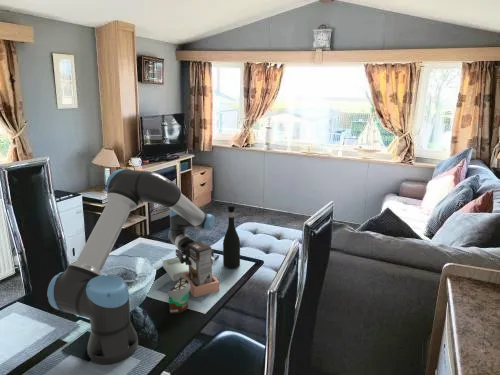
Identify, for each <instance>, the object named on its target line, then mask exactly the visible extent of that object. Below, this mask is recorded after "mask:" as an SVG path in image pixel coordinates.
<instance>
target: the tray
mask: <svg viewBox="0 0 500 375" xmlns="http://www.w3.org/2000/svg"><path fill="white" fill-rule="evenodd" d="M185 256H186V255H183V257H184V258H185ZM162 268H163V269H164V270H165V271H166V273H167V275H168V276H169V277H170V279H171V280H172V282H177V281H178V280H179V279H180V276H182V277H183V273H187V272H189V265H186V262H184V263H183V264H181V262H180V260H179V258H178V256H176V257H173V258H169V259H164V260H162ZM176 280H177V281H176Z"/></svg>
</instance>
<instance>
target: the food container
mask: <svg viewBox="0 0 500 375" xmlns="http://www.w3.org/2000/svg"><path fill="white" fill-rule="evenodd" d="M190 288H191V286H190V282H189V280H188V279H187V278H185V277H182V276H180V279H179V280H177V281H176V282H175V283H174V284H173V286H172V287H171V289H170V290H167V298H168V305H169V313H170V314H173V315H174V314H176V315H177V314H180V313H183V312H184V311H186V310H187V309H188V308H189V296H190V294H189V293H190V291H189V290H190Z"/></svg>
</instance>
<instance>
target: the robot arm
mask: <svg viewBox="0 0 500 375" xmlns="http://www.w3.org/2000/svg"><path fill="white" fill-rule="evenodd" d="M105 192H106V199H107V203H106V205H105V206H104V208H103V211H102V213H101V214H100V216H99V218H98V220H97V221H96V224H95V226H94V227H93V229H92V231H91V233H90V235H89V237H88V239H87V240H86V241H85V242H86V243H85V244H84V246H83V248H82V250H81V252H80V253H79V255H78V257H77V259H76V261H74V262H73V263H69V264H68V266H67V268H66V269H65V271H62V272H59V273H58V274H55V276H53V277H52V278H51V280H50V282H49V283H48V287H47V292H46V293H47V295H46V296H47V298H48V300H47V301H48V303H49V304H50V306H51V307H52V308H54V310H58V311H60V312H62V313H69V314H71V315H75V316H79V317H83V318H85V319H86V318H87V319H89V323H90V329H91V330H90V334H89V338H88V342H87V346H86V347H87V349H86V350H87V356H88V355H89V357H90V358H91V360H92V361H91V360H90V361H91V362H93V361H94V362H93V363H95V362H96V363H95V364H98V363H99V365H110V364H109V363H112V364H115V363H114V362H116V363H119V362H121V361H124V360H126V359H127V358H129V357H131V356H132V355H133V354H134V353H135V351H137V348H138V345H139V339H138V338H139V337H138V334H137V331H136V330H135V328H134V326H133V324H132V322H131V312H130V292H129V289H128V285H127V282H126V281H125V280H124V278H122V277H121V276H119V275H116V274H115V275H114V274H107V275H106V274H105V275H104V274H102V273H103V272H102V270H103V268H104V266H105V264H106V262H107V260H108V258H109V256H110V254H111V251H112V249H113V248H114V245H115V244H116V241H117V240H118V237H119V236H120V233H121V231H122V229H123V227H124V226H125V223H126V221H127V219H128V217H129V215H130V213H131V212H132V211H135V210H137V208H138V206H139V204H140V203H141V202H142V203H150V204H156V205H160V206H161V207H163V208H167V209H168V208H169V223H170V224H169V226H170V227H169V231H168V239H169V241H170V242H171V243H172V244H173V245H174V246H175V247H176V249H175V256H176V257H178V258H179V260H180V262H181V264H183V263H184V262H186V265H191V266H192V268H193V269H194V270H196V263H195V262H194V260H193V259H192V258H191V257H189V258H188V244H190V243H194V242H195V241H194V240H193V238H191V236H189V235H188V234H187V229H193V230H194V229H196V230H201V231H212V230H213V229H214V227H215V223H216V218H215V215H213V214H211V213H205V212H203V211H202V210H201V208H199V207H198V206H197V205H196V204H194V203H193V202H192V201H191V200H190V199H189V198H188V197H186V196H185V195H184V194H183V193H182V190H181V188H180V187H179V186H178V185H177V184H175V182H173V181H171V180H170V179H168V178H167V177H166V176H164V175H163V174H160V173H158V172H155V171H151V170H149V171H148V170H138V169H131V168H121V169H120V168H119V169H117V170H114V171H113V172H111V173H110V175H109V176H108V177H107V179H106V182H105ZM211 254H212V266H215V265H216V264H215V263H216V261H215V260H216V259H215V258H214V256H215V255H214V250H212V249H211ZM183 256H185V258H184V257H183ZM89 357H88V358H89Z"/></svg>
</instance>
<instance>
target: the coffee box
mask: <svg viewBox="0 0 500 375" xmlns="http://www.w3.org/2000/svg"><path fill="white" fill-rule="evenodd" d="M211 250H212V247H211V246H209V245H208V244H206V243H204V242H203V241H201V240H198V241H194V243H190V244H188V258H189V257H191V258H192V259H193V260H194V262H195V263H196V270H194V269H193V268H192V266H191V265H189V279H190V280H192V283H193V284H196V285H197V286H200V285H204V284H208V283H211V282H212V275H213V265H212V254H211Z"/></svg>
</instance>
